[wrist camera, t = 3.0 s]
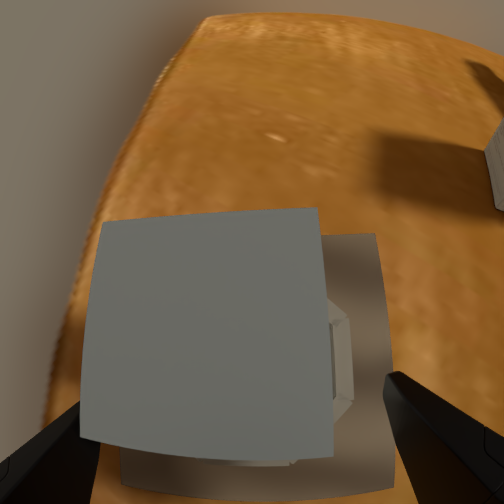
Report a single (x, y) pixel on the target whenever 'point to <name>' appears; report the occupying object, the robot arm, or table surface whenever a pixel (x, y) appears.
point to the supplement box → (496, 165)
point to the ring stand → (344, 405)
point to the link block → (210, 337)
